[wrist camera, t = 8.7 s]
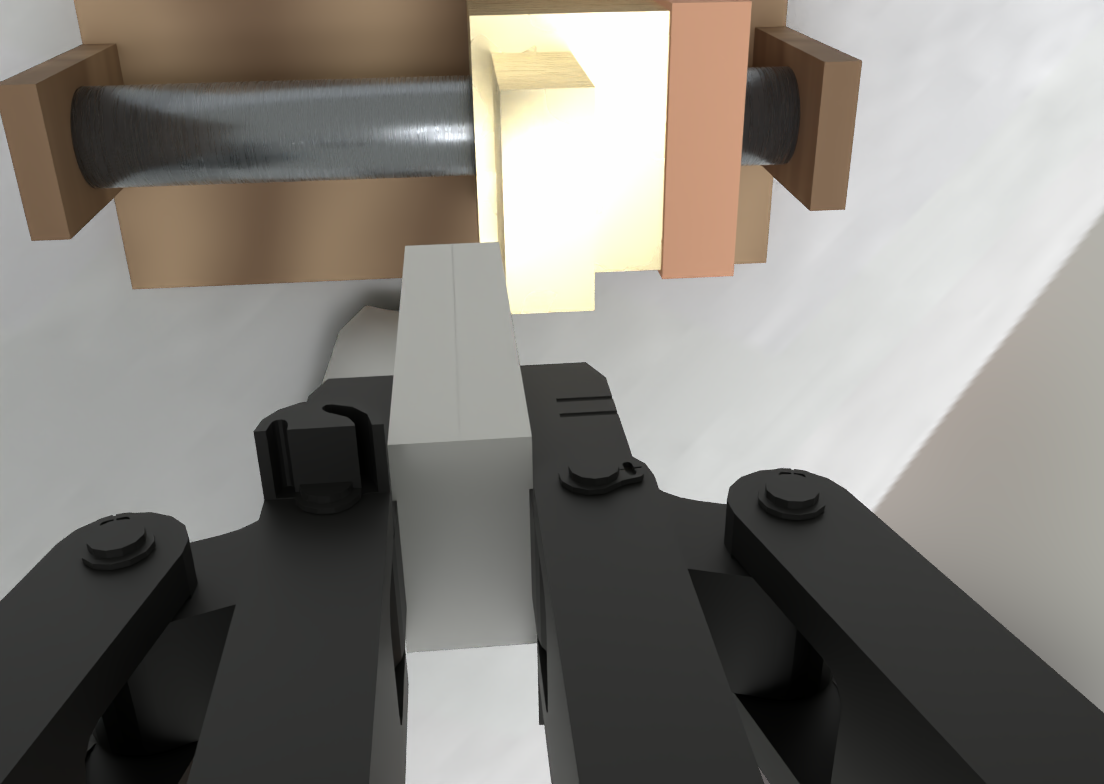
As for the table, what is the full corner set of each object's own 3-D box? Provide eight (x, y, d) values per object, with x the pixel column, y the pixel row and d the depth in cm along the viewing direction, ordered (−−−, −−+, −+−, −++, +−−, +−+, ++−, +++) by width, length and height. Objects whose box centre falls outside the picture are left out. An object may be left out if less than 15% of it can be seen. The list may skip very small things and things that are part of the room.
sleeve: (475, 206, 35) (486, 351, 24) (465, -11, 32) (473, 45, 21) (624, 201, 35) (699, 341, 25) (628, -15, 32) (716, 39, 22)
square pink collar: (624, 205, 35) (662, 278, 29) (627, -23, 32) (672, 3, 26) (682, 203, 36) (733, 276, 29) (691, -24, 32) (752, 1, 26)
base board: (140, 278, 36) (64, 377, 29) (64, -101, 31) (-50, -94, 24) (758, 253, 38) (829, 341, 31) (787, -112, 33) (881, -109, 26)
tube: (314, 302, 34) (146, 840, 43) (464, 370, 33) (262, 898, 43) (375, 267, 38) (213, 757, 48) (506, 327, 38) (317, 808, 48)
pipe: (98, 177, 31) (65, 205, 29) (77, 74, 30) (40, 93, 27) (782, 153, 33) (812, 178, 30) (791, 54, 32) (823, 71, 29)
